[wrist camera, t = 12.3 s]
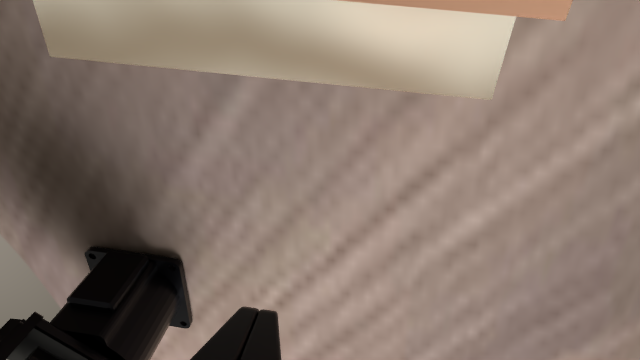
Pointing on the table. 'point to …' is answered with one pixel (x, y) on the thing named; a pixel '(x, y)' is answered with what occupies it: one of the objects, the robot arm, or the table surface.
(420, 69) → the post board
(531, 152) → the table surface
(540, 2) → the peach rectangular block
